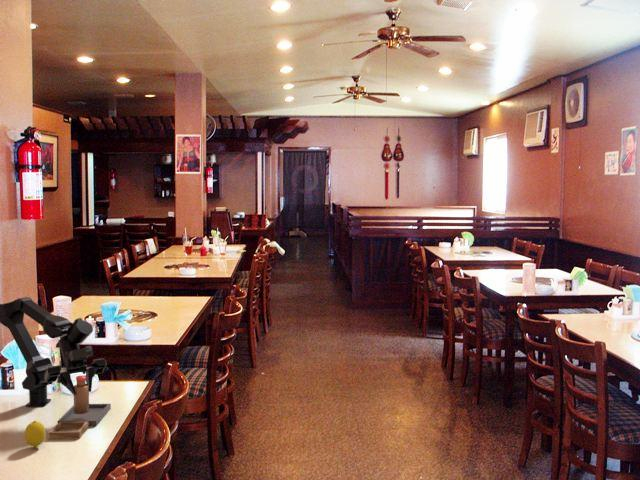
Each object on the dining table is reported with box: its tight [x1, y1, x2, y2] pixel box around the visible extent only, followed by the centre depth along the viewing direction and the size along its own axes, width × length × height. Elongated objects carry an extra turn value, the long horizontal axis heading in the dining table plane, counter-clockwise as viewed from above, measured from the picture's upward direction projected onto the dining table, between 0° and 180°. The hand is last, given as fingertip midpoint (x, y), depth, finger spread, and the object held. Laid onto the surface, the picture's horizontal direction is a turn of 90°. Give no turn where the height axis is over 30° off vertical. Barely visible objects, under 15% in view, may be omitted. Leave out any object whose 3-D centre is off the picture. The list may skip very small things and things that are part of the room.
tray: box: [57, 403, 112, 427], centre depth 205 cm, size 16×12×2 cm
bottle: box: [73, 375, 90, 414], centre depth 202 cm, size 5×5×12 cm
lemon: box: [24, 420, 46, 449], centre depth 181 cm, size 6×6×8 cm
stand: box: [48, 421, 90, 440], centre depth 192 cm, size 9×9×2 cm
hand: (82, 392), depth 200 cm, fingers closed on bottle, 5 cm apart
